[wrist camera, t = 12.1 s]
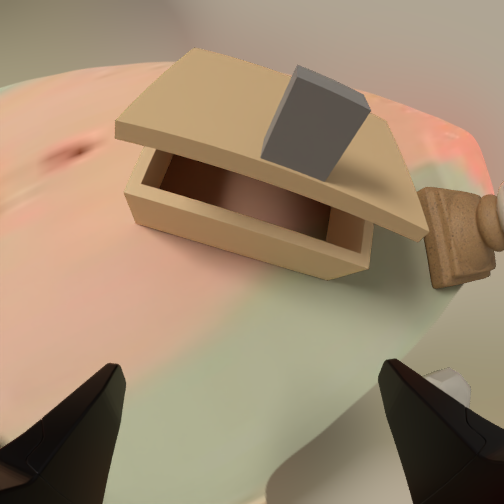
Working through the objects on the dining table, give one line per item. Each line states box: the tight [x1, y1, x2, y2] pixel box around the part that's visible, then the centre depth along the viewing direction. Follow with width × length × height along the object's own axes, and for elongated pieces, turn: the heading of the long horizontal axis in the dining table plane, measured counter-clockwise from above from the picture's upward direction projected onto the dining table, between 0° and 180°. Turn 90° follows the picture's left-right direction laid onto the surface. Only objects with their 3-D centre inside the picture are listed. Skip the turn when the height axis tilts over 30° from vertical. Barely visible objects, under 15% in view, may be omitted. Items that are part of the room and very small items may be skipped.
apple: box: [422, 367, 471, 408], centre depth 21 cm, size 8×8×7 cm
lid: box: [115, 48, 429, 242], centre depth 15 cm, size 12×16×5 cm
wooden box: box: [124, 146, 374, 281], centre depth 22 cm, size 12×16×6 cm
